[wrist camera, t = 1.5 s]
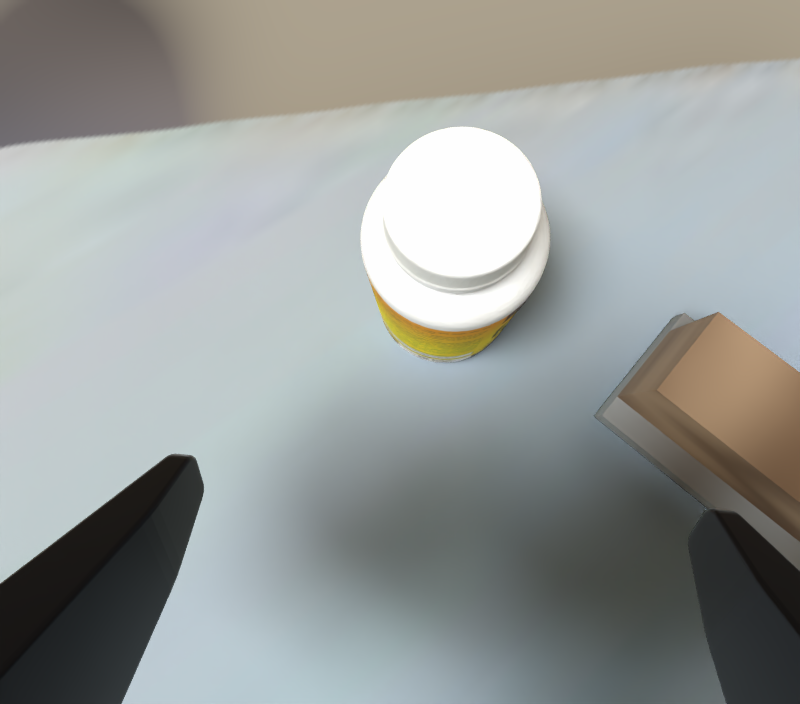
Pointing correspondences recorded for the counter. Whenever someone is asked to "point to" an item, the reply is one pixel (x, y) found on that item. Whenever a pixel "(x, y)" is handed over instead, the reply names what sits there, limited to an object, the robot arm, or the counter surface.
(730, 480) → the block
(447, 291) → the supplement bottle
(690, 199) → the counter surface
